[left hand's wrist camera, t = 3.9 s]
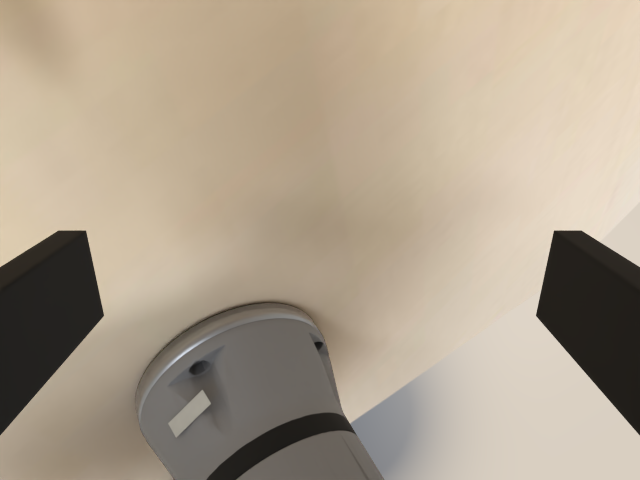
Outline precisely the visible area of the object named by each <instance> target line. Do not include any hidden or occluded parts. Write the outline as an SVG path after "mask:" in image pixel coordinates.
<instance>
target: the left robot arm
mask: <svg viewBox="0 0 640 480" xmlns="http://www.w3.org/2000/svg"><path fill="white" fill-rule="evenodd" d="M103 316H104V314H103V309H102V304H101V299H100V295H99V290H98V285H97V281H96V276H95V271H94V266H93V262H92V257H91V252H90V248H89V243H88V238H87V234H86V231H57V232H56V233H54V234H53V235H51V236H49V237H48V238H46V239H45V240H43V241H41V242H40V243H38V244H37V245H35V246H33V247H32V248H30V249H29V250H27V251H25V252H24V253H22V254H21V255H19V256H17V257H16V258H14V259H13V260H11V261H9V262H8V263H6V264H5V265H3V266H1V267H0V435H1V434H2V433H3V432H4V430H5V429H6V428H7V427H8V426H9V425H10V423H11V422H12V421H13V420H14V419H15V418H16V417H17V415H18V414H19V413H20V412H21V411H22V410H23V408H24V407H25V406H26V405H27V404H28V403H29V402H30V400H31V399H32V398H33V397H34V396H35V395H36V393H37V392H38V391H39V390H40V389H41V388H42V387H43V385H44V384H45V383H46V382H47V381H48V380H49V379H50V377H51V376H52V375H53V374H54V373H55V372H56V370H57V369H58V368H59V367H60V366H61V365H62V364H63V362H64V361H65V360H66V359H67V358H68V357H69V355H70V354H71V353H72V352H73V351H74V350H75V349H76V347H77V346H78V345H79V344H80V343H81V342H82V340H83V339H84V338H85V337H86V336H87V335H88V334H89V332H90V331H91V330H92V329H93V328H94V327H95V326H96V324H97V323H98V322H99V321H100V320H101V319H102V317H103ZM536 316H537V317H538V319H539V320H540V321H541V322H542V323H543V324H544V326H545V327H546V328H547V329H548V330H549V331H550V332H551V334H552V335H553V336H554V337H555V338H556V339H557V340H558V342H559V343H560V344H561V345H562V346H563V347H564V349H565V350H566V351H567V352H568V353H569V354H570V355H571V357H572V358H573V359H574V360H575V361H576V362H577V364H578V365H579V366H580V367H581V368H582V369H583V370H584V372H585V373H586V374H587V375H588V376H589V377H590V378H591V380H592V381H593V382H594V383H595V384H596V385H597V387H598V388H599V389H600V390H601V391H602V392H603V393H604V395H605V396H606V397H607V398H608V399H609V400H610V402H611V403H612V404H613V405H614V406H615V407H616V408H617V410H618V411H619V412H620V413H621V414H622V415H623V416H624V418H625V419H626V420H627V421H628V422H629V423H630V425H631V426H632V427H633V428H634V429H635V430H636V431H637V433H638V434H639V435H640V267H638V266H637V265H635V264H634V263H632V262H631V261H629V260H627V259H626V258H624V257H623V256H621V255H619V254H618V253H616V252H615V251H613V250H611V249H610V248H608V247H607V246H605V245H603V244H602V243H600V242H599V241H597V240H595V239H594V238H592V237H591V236H589V235H587V234H586V233H584V232H583V231H554V234H553V238H552V243H551V248H550V252H549V257H548V262H547V266H546V271H545V276H544V281H543V285H542V290H541V295H540V300H539V304H538V309H537V314H536ZM135 407H136V411H137V416H138V420H139V424H140V429H141V431H142V434H143V435H144V437H145V439H146V441H147V442H148V444H149V445H150V447H151V448H152V449H153V451H154V452H155V453H156V455H157V456H158V457H159V459H160V460H161V462H162V463H163V464H164V466H165V467H166V468H167V470H168V471H169V472H170V474H171V475H172V477H173V478H174V479H175V480H384V478H383V477H382V475H381V474H380V472H379V470H378V469H377V467H376V465H375V464H374V462H373V461H372V459H371V457H370V456H369V454H368V453H367V451H366V449H365V448H364V446H363V444H362V443H361V441H360V440H359V438H358V436H357V435H356V433H355V432H354V430H353V428H352V427H351V425H350V423H349V422H348V420H347V418H346V417H345V415H344V413H343V411H342V408H341V404H340V400H339V396H338V392H337V387H336V383H335V379H334V375H333V370H332V366H331V362H330V359H329V354H328V350H327V346H326V344H325V340H324V338H323V336H322V334H321V333H320V331H319V330H318V328H317V327H316V325H315V324H314V322H313V321H312V319H311V318H310V317H309V316H308V315H307V314H306V313H305V312H303V311H302V310H300V309H298V308H295V307H293V306H289V305H285V304H278V303H261V304H253V305H247V306H243V307H239V308H235V309H232V310H229V311H226V312H223V313H220V314H218V315H215V316H213V317H211V318H209V319H207V320H205V321H203V322H201V323H199V324H197V325H195V326H194V327H192V328H190V329H189V330H187V331H186V332H184V333H183V334H181V335H180V336H179V337H177V338H176V339H175V340H173V341H172V342H171V343H170V344H169V345H168V346H166V347H165V348H164V349H163V350H162V351H161V352H160V353H159V354H158V355H157V356H156V358H155V359H154V360H153V361H152V362H151V364H150V365H149V366H148V368H147V369H146V371H145V372H144V374H143V376H142V378H141V380H140V382H139V385H138V387H137V391H136V396H135Z"/></svg>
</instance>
